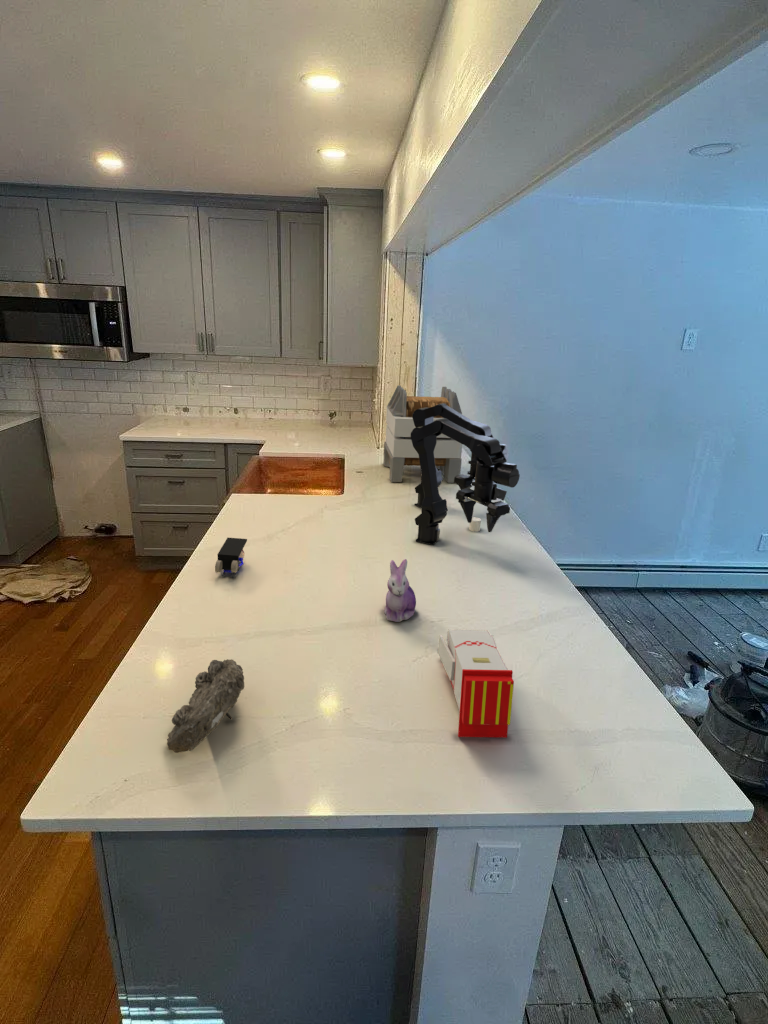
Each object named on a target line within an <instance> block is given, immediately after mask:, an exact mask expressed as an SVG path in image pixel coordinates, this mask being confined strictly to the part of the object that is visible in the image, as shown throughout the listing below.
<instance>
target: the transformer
mask: <svg viewBox="0 0 768 1024" xmlns="http://www.w3.org/2000/svg"><path fill="white" fill-rule="evenodd" d="M440 393H441V394H440V396H415V395H414V396H413V395H412V396H411V395H407V394H408V393H407V390H406V389H404V388H403V387H402V385H399V384H398V385H397V386H396V388H395V390H394V392H393V394H392V395H391V398H390V400H389V402H388V404H387V405H386V413H385V414H386V415H385V423H386V428H385V438H384V442H383V466H384V467H388V468H389V475H388V476H389V477H388V478H389V480H390V482H391V483H402V482H403V475H404V469H405V466H406V467H407V466H411V467H412V466H413V467H415V466H416V467H417V466H418V467H420V461H419V455H418V453H417V451H416V450H415V449H414V447H413V444H412V441H411V432H412V430H413V429H414V428H416V427H415V425H414V422H413V418H412V414H413V413H414V411H415V410H417V409H421V408H425V407H428V408H430V407H433V406H436V405H437V404H442V403H444V404H446V405H447V406H449V407H450V408H452V409H454V410H455V411H457V412H459V413H460V414H462V415H463V411H462V408H461V405H460V402H459V398H458V395H457V392H455V391H453V390H452V389H451V388H447V386H442V387H441V392H440ZM437 419H443V417H442V416H440V415H439V416H436V417H434V420H433V422H434V421H435V420H437ZM462 453H463V444H461V443H459V442H457V441H455V440H453V439H452V438H450V437H448V436H446V435H444V434H441V435H439V436H437V440H436V446H435V449H434V459H435V466H436V468H437V470H438V469H439V470H441V472H442V474H441V475H443V476H442V477H443V478H444V479H445V481H446V482H447V483H449V484H455V483H454V477H455V476H456V475H461V474H462V473H461V472H462V461H463V460H462ZM439 470H438V471H439Z"/></svg>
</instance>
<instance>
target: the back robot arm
mask: <svg viewBox="0 0 768 1024" xmlns="http://www.w3.org/2000/svg"><path fill="white" fill-rule="evenodd" d="M439 415H440V416H442V417H443V418H446V419H448V420H449V421H451V422H453V423H455V424H457V425H459V426H461V427H463V428H465V429H467V430H469V431H470V432H472V433H474V434H477V435H482V436H488V437H491V438H495V437H494V436H493V433H492V429H491V427H490V425H488V424H486V423H483V422H480V421H475V420H472V419H470V418H468V417H467V416H465V415H464V414H463V413H462V414H460V413H459V412H457V411H455V410H454V409H452V408H450V407H449V406H447V405H446V404H444V403H442V404H437V405H436V406H433V407H430V408H428V407H425V408H421V409H417V410H415V411H414V413H413V414H412V418H413V422H414V425H415V427H422V426H425V425H428V424H430V423H432V422H433V420H434V417H436V416H439ZM500 447H501V450H502V452H503V454H504V456H505V458H506V460H507V461H508V458H509V450H508V448H507V447H508V445H507V444H503V443H502V444H501V443H500ZM470 453H471V452H470ZM475 457H476V456H475V455H474V454H473V453H471V454H470V460H468V462H467V464H468V465H470V466H469V470H468V471H466V472H467V473H466V474H463V473H461V474H460V475H456V476H455V477H454V483H453V484H456V485H458V487H459V490H462V489H468V488H469V489H472V487H473V485H472V482H475V475H476V465H477V464H473V463H471V460H473V459H474V458H475ZM495 458H496V457H492V458H491V459H495ZM434 460H435V459H434ZM505 463H507V462H505ZM435 468H436V475H437V483H438V488H439V487H440V486H441V485H442V481H443V480H444V479H443V476H442V475H443V474H442V472H441V470H438V468H437V466H435ZM414 491H415V493H416V494H417V502H416V503H414V506H416V507H418V508H419V509H421V506H422V503H423V500H424V489H423V482H422V475H420V482H419V484H417V486H415V487H414Z"/></svg>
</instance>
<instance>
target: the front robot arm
mask: <svg viewBox="0 0 768 1024" xmlns="http://www.w3.org/2000/svg"><path fill="white" fill-rule="evenodd" d="M441 434H444V435H446V436H448V437H450V438H452V439H453V440H455V441H457V442H459V443H461V444H462V446H465V447H466V448H468V449H469V451H470V453H473V454H474V455H475V456H476V457H475V458H474V459H473V460H471V459H470V461H471V463H473V464H477V465H476V475H475V477H474V478H475V480H474V481H473V482H472V484H471V485H472V487H473V489H472V488H470V489H469V488H468V489H462V490H461V489H458V490H457V492H456V493H455V500H457V502H458V503H459V504H460V506H461V509H462V511H463V514H464V516H465V519H466V521H467V523H468V524H470V523H471V521H472V518H473V517H474V516H473V515H474V509H475V505H476V504H479V505H482V506H485V507H487V508H486V511H487V512H486V513H485V515H486V516H485V517H486V528H487V532H488V533H492V532H493V530H494V528H495V526H496V524H497V522H498V520H499V519H500V517H502V516H505V515H507V514H510V512H511V506H510V504H509V503H507V502H504V501H505V499H506V495H507V494H508V491H507V490H505V489H502V488H500V487H498V485H501V486H505V487H507V488H508V487H509V488H515V487H516V486H517V485H518V483H519V481H520V477H521V475H520V471H519V469H518V464H516V463H510V462H507V461H508V459H507V460H506V458H505V456H504V454H503V452H502V450H501V447H500V444H501V443H500V441H499V440H498V439H497V438H495V437H494V438H491V437H488V436H482V435H477V434H474V433H472V432H470V431H469V430H467V429H465V428H463V427H461V426H459V425H457V424H455V423H453V422H451V421H449V420H448V419H446V418H443V419H437V420H435V421H434V422H432V423H430V424H428V425H425V426H422V427H416V428H414V429H413V430H412V432H411V441H412V444H413V447H414V449H415V450H416V451H417V453H418V455H419V461H420V466H419V467H420V474H421V475H422V482H423V489H424V500H423V503H422V506H421V508H420V509H421V513H420V514H419V515H418V516H416V517H415V518H414V523H415V525H416V526H418V527H417V538H416V539H415V542H417V543H421V544H425V545H430V546H435V544H436V543H437V542H438V541H439V540H440V532H441V528H439V526H440V524H442V523H443V520H445V518H446V517H447V515H448V511H449V509H448V506H447V505H448V504H447V503H448V502H447V499H446V498H444V499H443V497H442V496H441V495H440V491H439V487H438V483H437V475H436V468H437V467H436V468H435V460H434V449H435V446H436V440H437V436H439V435H441ZM492 457H496V458H495V459H491V458H492ZM505 462H506V463H505ZM421 475H420V476H421ZM497 499H498V501H497ZM493 501H494V502H493Z"/></svg>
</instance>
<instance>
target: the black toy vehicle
mask: <svg viewBox="0 0 768 1024" xmlns="http://www.w3.org/2000/svg"><path fill="white" fill-rule="evenodd" d="M247 542H248V538H240V537H226V539H225V541H224V543H223V544H222V546H221V547H220V549H219V551H218V552H217V560H216V562H215V564H214V572H215V573H221V577H222V578H224V577H225V576H226V574H227V573H230V574H231V573H232V574H231V578H234V577H235V575H236V573H237V572H239V571H240V567H242V566H243V565H244V564H245V562H244V558H245V551H244V547H245V546H246V544H247Z"/></svg>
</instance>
